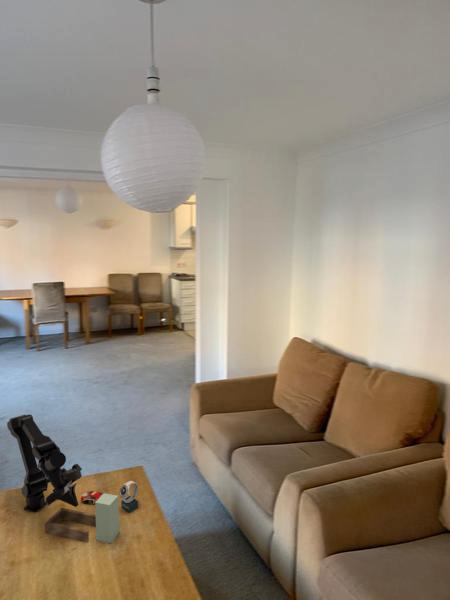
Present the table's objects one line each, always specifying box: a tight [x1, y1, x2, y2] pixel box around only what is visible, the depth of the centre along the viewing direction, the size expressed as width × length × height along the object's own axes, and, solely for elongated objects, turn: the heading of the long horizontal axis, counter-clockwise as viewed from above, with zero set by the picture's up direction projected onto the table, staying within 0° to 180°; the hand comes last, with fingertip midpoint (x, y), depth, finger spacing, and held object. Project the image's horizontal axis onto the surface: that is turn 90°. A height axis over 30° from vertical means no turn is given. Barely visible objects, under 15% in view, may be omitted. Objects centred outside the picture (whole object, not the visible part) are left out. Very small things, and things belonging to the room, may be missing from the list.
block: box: [94, 492, 120, 544], centre depth 158 cm, size 6×6×15 cm
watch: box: [118, 480, 139, 513], centre depth 176 cm, size 6×8×11 cm
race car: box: [80, 490, 104, 506], centre depth 181 cm, size 13×5×4 cm, turn 77°
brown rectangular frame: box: [44, 507, 96, 543], centre depth 163 cm, size 18×10×4 cm, turn 74°
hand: (77, 506), depth 162 cm, fingers closed
